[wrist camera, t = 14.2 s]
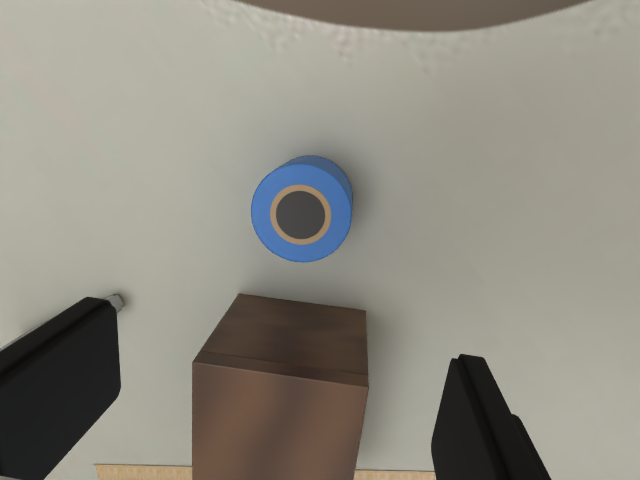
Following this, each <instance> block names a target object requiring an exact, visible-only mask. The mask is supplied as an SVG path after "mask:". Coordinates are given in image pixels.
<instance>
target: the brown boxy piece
mask: <svg viewBox="0 0 640 480" xmlns="http://www.w3.org/2000/svg"><path fill="white" fill-rule="evenodd" d="M368 389H369V383H368V357H367V331H366V311H363V310H355V309H348V308H340V307H333V306H325V305H318V304H311V303H303V302H296V301H288V300H281V299H273V298H266V297H258V296H251V295H244V294H238V296H237V297H236V299H235V300H234V302H233V303H232V305H231V306H230V307H229V309H228V310H227V312H226V313H225V315H224V316H223V318H222V319H221V321H220V322H219V324H218V325H217V327H216V328H215V330H214V331H213V333H212V334H211V335H210V337H209V338H208V340H207V341H206V343H205V344H204V346H203V347H202V349H201V350H200V352H199V353H198V355H197V356H196V357H195V359H194V360H193V362H192V480H354V474H355V467H356V461H357V455H358V449H359V443H360V437H361V431H362V425H363V419H364V413H365V407H366V401H367V395H368Z"/></svg>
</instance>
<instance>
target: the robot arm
mask: <svg viewBox="0 0 640 480" xmlns="http://www.w3.org/2000/svg"><path fill="white" fill-rule="evenodd" d="M120 388H121V380H120V363H119V346H118V329H117V312H116V308H115V307H114V306H112V304H111V302H110V301H109V300H105V299H98V298H92V297H86V298H84V299H82V300H81V301H79V302H78V303H76V304H74V305H73V306H71V307H70V308H68V309H66V310H65V311H63V312H62V313H60V314H59V315H57V316H55V317H54V318H52V319H51V320H49V321H47V322H46V323H44V324H43V325H41V326H39V327H38V328H36V329H35V330H33V331H32V332H30V333H28V334H27V335H25V336H24V337H22V338H20V339H19V340H17V341H16V342H14V343H12V344H11V345H9V346H8V347H6V348H5V349H3V350H1V351H0V480H44V479H45V478H46V476H47V475H48V474H49V473H50V472H51V471H52V470H53V469H54V468H55V466H56V465H57V464H58V463H59V462H60V461H61V460H62V459H63V458H64V456H65V455H66V454H67V453H68V452H69V451H70V450H71V449H72V448H73V446H74V445H75V444H76V443H77V442H78V441H79V440H80V439H81V438H82V436H83V435H84V434H85V433H86V432H87V431H88V430H89V429H90V428H91V426H92V425H93V424H94V423H95V422H96V421H97V420H98V419H99V418H100V416H101V415H102V414H103V413H104V412H105V411H106V410H107V409H108V408H109V406H110V405H111V404H112V403H113V402H114V401H115V400H116V398H117V397H118V395H119V392H120ZM431 453H432V459H433V464H434V469H435V474H436V480H551V478H550V476H549V474H548V472H547V470H546V468H545V466H544V464H543V462H542V460H541V459H540V457H539V455H538V453H537V451H536V449H535V447H534V445H533V443H532V441H531V439H530V437H529V435H528V433H527V431H526V429H525V427H524V425H523V423H522V421H521V420H520V419H519V417H518V416H516V415H514V414H511V412H510V410H509V408H508V406H507V404H506V402H505V400H504V398H503V396H502V394H501V391H500V389H499V387H498V385H497V383H496V381H495V379H494V377H493V375H492V373H491V371H490V369H489V367H488V365H487V363H486V361H485V359H484V358H483V357H478V356H471V355H465V354H460V355H459V357H458V359H454V358H452V359H451V361H450V365H449V369H448V373H447V378H446V382H445V386H444V390H443V394H442V399H441V403H440V407H439V411H438V415H437V420H436V424H435V428H434V432H433V437H432V443H431Z"/></svg>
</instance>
